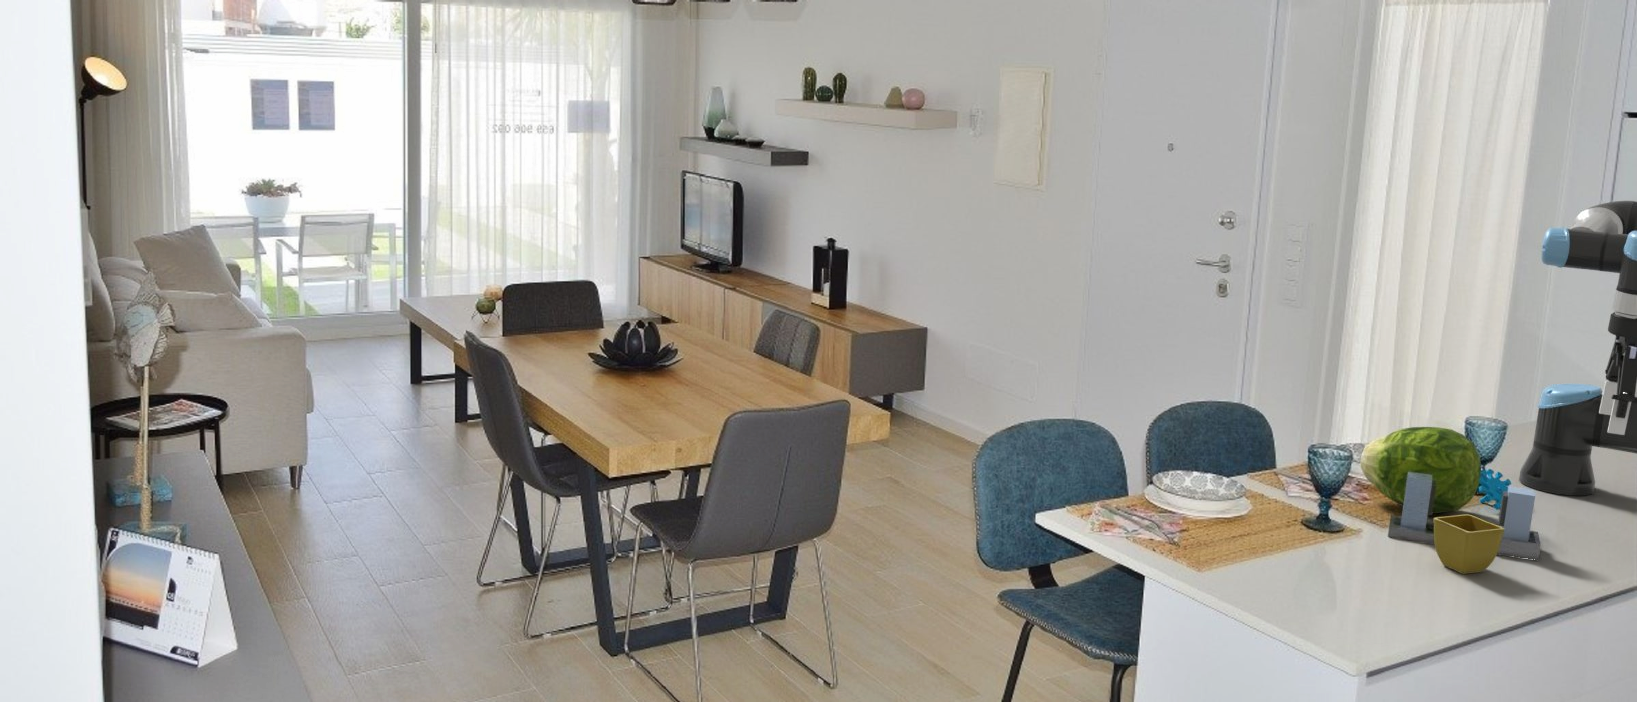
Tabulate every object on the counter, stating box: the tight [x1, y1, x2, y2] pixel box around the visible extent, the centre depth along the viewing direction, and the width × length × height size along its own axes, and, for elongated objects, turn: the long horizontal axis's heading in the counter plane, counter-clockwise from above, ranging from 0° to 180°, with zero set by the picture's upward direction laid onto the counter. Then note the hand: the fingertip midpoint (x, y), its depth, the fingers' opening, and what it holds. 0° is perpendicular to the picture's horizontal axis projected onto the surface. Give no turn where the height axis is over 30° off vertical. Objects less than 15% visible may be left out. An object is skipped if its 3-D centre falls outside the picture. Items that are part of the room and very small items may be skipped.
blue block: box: [1498, 485, 1536, 542], centre depth 270 cm, size 4×5×10 cm
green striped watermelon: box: [1359, 426, 1482, 514], centre depth 293 cm, size 19×23×18 cm
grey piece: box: [1387, 472, 1542, 561], centre depth 273 cm, size 9×27×12 cm, turn 66°
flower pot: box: [1433, 513, 1504, 575], centre depth 259 cm, size 9×9×9 cm
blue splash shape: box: [1478, 468, 1512, 511], centre depth 299 cm, size 11×6×10 cm
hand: (1611, 423), depth 266 cm, fingers open, 13 cm apart
